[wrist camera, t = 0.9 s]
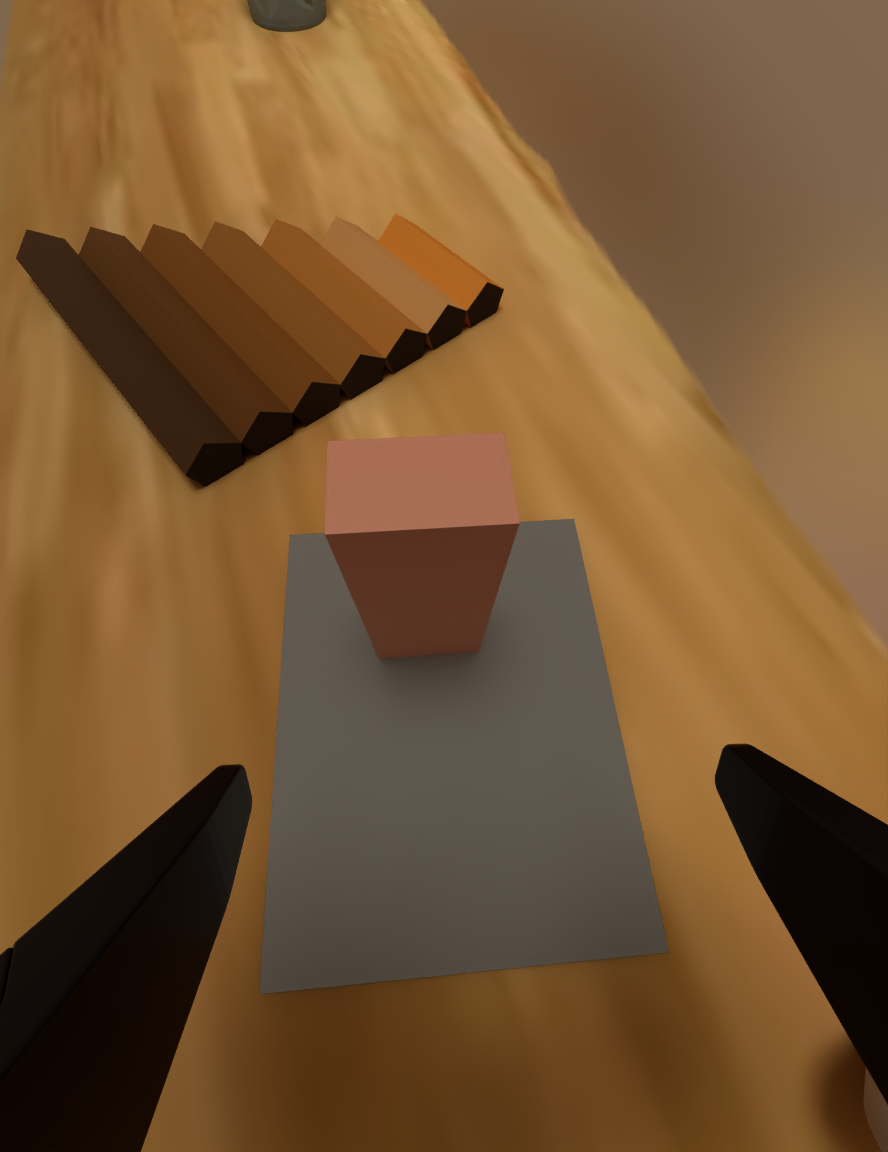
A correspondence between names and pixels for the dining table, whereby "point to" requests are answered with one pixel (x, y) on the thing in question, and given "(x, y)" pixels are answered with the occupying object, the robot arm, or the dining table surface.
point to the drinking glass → (287, 14)
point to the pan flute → (254, 323)
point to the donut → (876, 1112)
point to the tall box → (422, 536)
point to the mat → (451, 788)
